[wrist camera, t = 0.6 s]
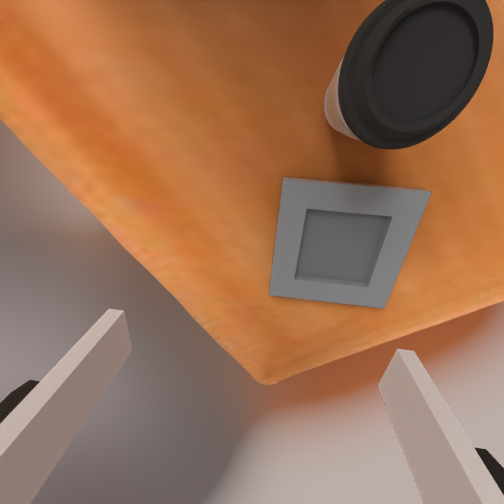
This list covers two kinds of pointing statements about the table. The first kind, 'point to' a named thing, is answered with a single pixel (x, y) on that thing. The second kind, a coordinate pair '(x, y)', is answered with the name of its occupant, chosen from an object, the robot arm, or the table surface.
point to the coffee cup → (410, 71)
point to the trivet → (343, 239)
